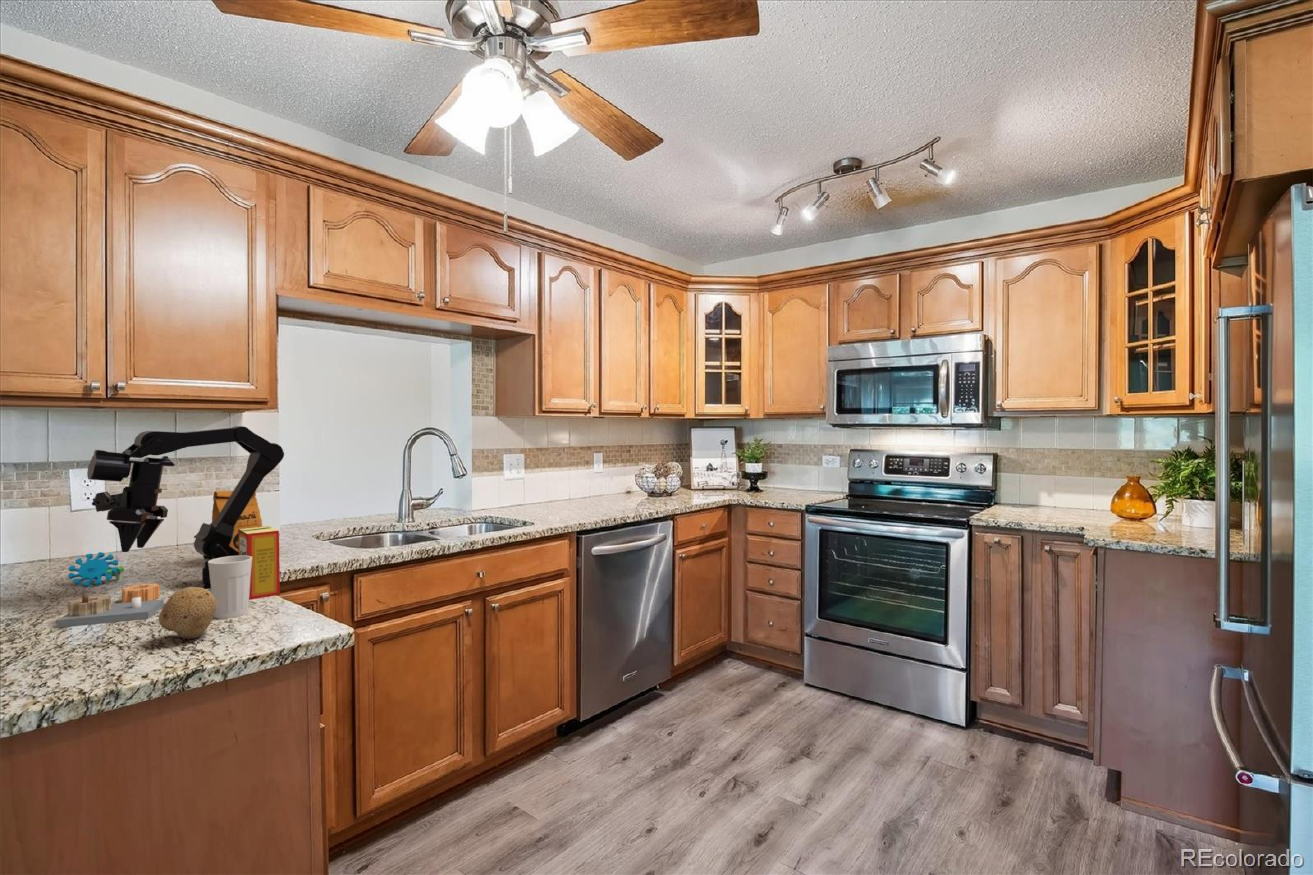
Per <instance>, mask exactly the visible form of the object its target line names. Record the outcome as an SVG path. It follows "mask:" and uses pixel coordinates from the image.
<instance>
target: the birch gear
mask: <svg viewBox="0 0 1313 875" xmlns="http://www.w3.org/2000/svg"><path fill="white" fill-rule="evenodd" d="M111 604H112V597H111V595H93V596H89V592H86V591H85V592H81V597H79V598H76V599H74V600H68V601H67V614H68V615H69V616H77V615H78V616H86V615H90V614H99V613H102V612H103V611H106V610H110V609H111Z"/></svg>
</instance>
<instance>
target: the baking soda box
mask: <svg viewBox="0 0 1313 875" xmlns="http://www.w3.org/2000/svg"><path fill="white" fill-rule="evenodd" d="M238 547H239V556H251V557H252V566H251V577H250V591H249V601H251V600H258V599H264V598H269V597H274V596H275V597H276V596H280V595H281V592H280V591H281V585H280V584H281V581H280V580H281V578H280V575H281V574H280V571H281V570H280V530H278V529H276V528H274V527H272V526H270V525H266V526H263V525H262V527H253V528H244V529H238Z"/></svg>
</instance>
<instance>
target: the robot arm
mask: <svg viewBox="0 0 1313 875" xmlns="http://www.w3.org/2000/svg"><path fill="white" fill-rule="evenodd" d="M133 442H134V443H133V444H131V445H130V446H128V447H127V448H126V449H124V451H122V452H111V451H107V450H102V449H95V450H94V452H93V455H92V456H91V458H90V459H91V460H90V462H89V463H88V465H87V472H86V473H87V475H86V476H87V479H88V480H90V481H91V480H94V481H106V482H122V481H123V479H127V478H129V481H128V482H129V483H128V486H124V487H123V488H122V492H121V493H115V494H114V493H113V494H110V492H108V491H102V492H101V491H100V492H97V493H96V494H95V497H94V498H92V502H91V505H92V506H94V507H95V511H96V513H99V512H106V511H107V517H106V520H107V521H109V523H110V525H111V524H112V525H113V526H114V527H115V528H116V529H117V531H118V537H119V542H120V548H121V549H120V550H121V552H122V553H128V552H129V551H130V550H131V548H132V547H133V545H134V544H135V542H136V547H137V548H138V549H143V548H144V547H145V546H146V545H147V543H148V542H149V540H150V539H151V537H152V536H153V534H155V532H156V531H157V530H158V528H159V527H160V525H161V524H162V523H163V522H164V520H165V518H167V517H168V512H169V511H168V510H169V509H168V508H167V507H166V506H165V505H157V504H158V498H159V494H162V492H163V491H162V490H163V489H162V488H160V487H161V485H160V484H161V482H162V477H163V476H162V475H163V470H164V466H165V467H174V466H175V463H174V462H173V461H171V460H170V458H169V456H168V455H165V454H168V453H171V452H176V451H179V450H181V449H186V448H191V447H198V446H207V445H215V444H216V445H217V444H225V443H233V442H235V443H236V444H238V446H240V447H241V448H242V449H243V450H244V451H246V452H248V454H249V456H248V458H247V462H246V468H245V472H244V473H243V474H242V476H241V478H240V480H239V481H238V482H237V485H235V488H234V489H233V490H232V491H233V492H232V494H231V496H230V497H229V499H228V500H227V502H226V504H225V505H224V507H223V509H222V510H221V512H220V513H219V515H218V517H217V518H216V519H215V520H214V521H213V522H212V521H211V523H205V522H204V523H203V522H202V524H201V525H200V528H199V530H198V532H197V534H195V535H194V536H193V538H194V541H193V547H194V550H195V552H197V553H199V554H201V555H202V557H203V560H205V562H204V567H202V570H201V571H202V572H201V573H202V574H201V575H202V576H201V577H202V578H201V579H202V580H201V581H202V582H201V583H202V585H203V586H202V588H204V589H207V588H208V589H209V588H210V589H211V582H210V574H209V566H208V561H210V560H212V559H216V558H221V557H228V556H239V552H237V551H236V550H235V549H233V548H232V547H230V543H231V541H232V538H233V532H234V526H235V524H236V523H237V521H238V519H239V518H240V516H241V514H242V513H243V511H244V509H245V508H246V506H247V504H248V503H249V501H250V500H251V498H252V496H253V495H254V493H255V491H257V489H258V488H259V486H260V484H261V483H262V482H263V481H264V480H263V479H264V478H265V477H266V476H267V475H269V474H270V473H271V472H272V471H273V470H274V469H275V468H276V467H277V466H278V465H279V464H280V463H281V461H282V460H284V456H285V452H284V449H283V448H282V446H280V444H278V443H274V442H270V441H269V440H267V439H265V438H264V437H262V436H260V435H258V434H256V433H255V432H253V431H252V430H251V429H249V428H248V427H246V426H241V425H240V426H237V425H235V426H232V427H224V428H216V429H214V428H213V429H206V430H196V431H195V430H194V431H184V432H183V431H182V432H181V431H179V432H177V431H159V430H156V431H154V430H146V431H142V432H140V433H139V434H138V435H137V436H135V438H134V441H133ZM161 455H163V456H162V457H161V458H159V457H147V456H161ZM131 458H132V459H133V458H134V459H142V458H143V461H141V460H132V459H131ZM130 459H131V460H130ZM129 476H130V477H129ZM159 517H160V518H159Z"/></svg>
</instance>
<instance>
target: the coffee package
mask: <svg viewBox="0 0 1313 875" xmlns="http://www.w3.org/2000/svg"><path fill="white" fill-rule="evenodd" d="M233 491H234V490H215V491H214V492H213V495H212V496H213V497H212V499H213V504H212V510H211V512H212V515H211V523H212V522H213V521H214V520H215V519H216V518H217V517H218V515H219V513H220V512H221V510H222V509H223V507H224V505H225V504H226V502H227V500H228V499H229V497H230V496H231V494H232V492H233ZM256 491H257V490H256ZM256 491H255V493H254V495H253V496H252V498H251V500H250V501H249V503H248V504H247V506H246V508H245V509H244V511H243V513H242V514H241V516H240V518H239V519H238V521H237V523H236V524H235V526H234V532H233V538H232V541H231V543H230V547H232V548H233V549H235V550H236V551H237V552H239V547H238V529H244V528H253V527H263V520H262V517H261V510H260V507H259V505H258V504H259V503H258V501H257V500H258V499H257V497H256V495H257V492H256Z"/></svg>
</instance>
